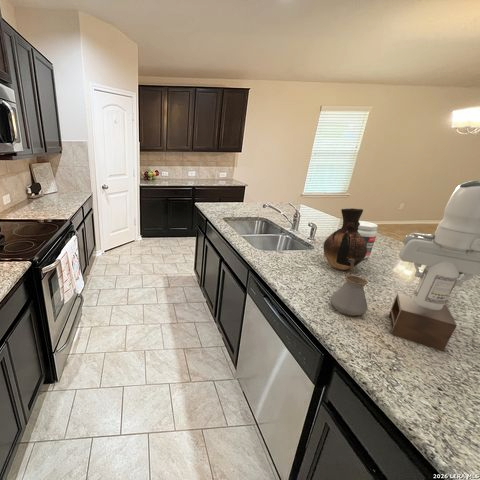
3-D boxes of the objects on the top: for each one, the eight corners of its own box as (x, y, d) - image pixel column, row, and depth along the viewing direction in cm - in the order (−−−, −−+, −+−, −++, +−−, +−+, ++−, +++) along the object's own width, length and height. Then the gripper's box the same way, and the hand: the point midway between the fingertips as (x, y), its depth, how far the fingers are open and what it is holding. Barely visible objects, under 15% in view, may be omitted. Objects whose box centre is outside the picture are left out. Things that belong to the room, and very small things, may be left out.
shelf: (434, 329, 85) (446, 305, 81) (443, 351, 76) (457, 325, 72) (388, 315, 92) (397, 292, 88) (391, 334, 83) (401, 309, 79)
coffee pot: (368, 323, 87) (381, 285, 82) (329, 312, 93) (339, 277, 87) (359, 293, 105) (370, 261, 99) (326, 286, 110) (335, 255, 105)
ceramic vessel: (359, 279, 115) (380, 216, 104) (315, 268, 125) (330, 210, 115) (361, 263, 130) (379, 207, 120) (322, 255, 141) (336, 202, 130)
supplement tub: (370, 261, 133) (382, 228, 126) (341, 256, 139) (350, 224, 132) (367, 253, 143) (377, 222, 136) (340, 248, 149) (348, 218, 143)
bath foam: (447, 309, 77) (478, 250, 70) (429, 312, 76) (458, 251, 69) (422, 297, 84) (448, 241, 76) (405, 298, 82) (429, 242, 75)
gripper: (408, 234, 75) (392, 274, 80) (517, 250, 64) (491, 296, 69) (405, 228, 80) (391, 267, 85) (506, 243, 68) (483, 287, 73)
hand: (436, 280), depth 77 cm, fingers closed on bath foam, 7 cm apart
